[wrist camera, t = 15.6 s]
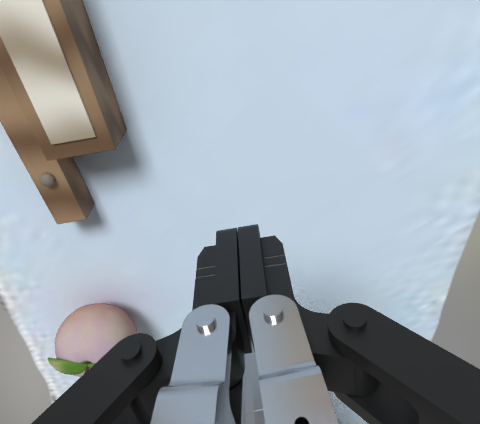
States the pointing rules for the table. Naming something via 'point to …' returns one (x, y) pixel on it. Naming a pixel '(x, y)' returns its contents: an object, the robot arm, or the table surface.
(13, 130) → the walnut rail
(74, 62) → the walnut frame
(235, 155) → the table surface
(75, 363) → the decorative fruit
